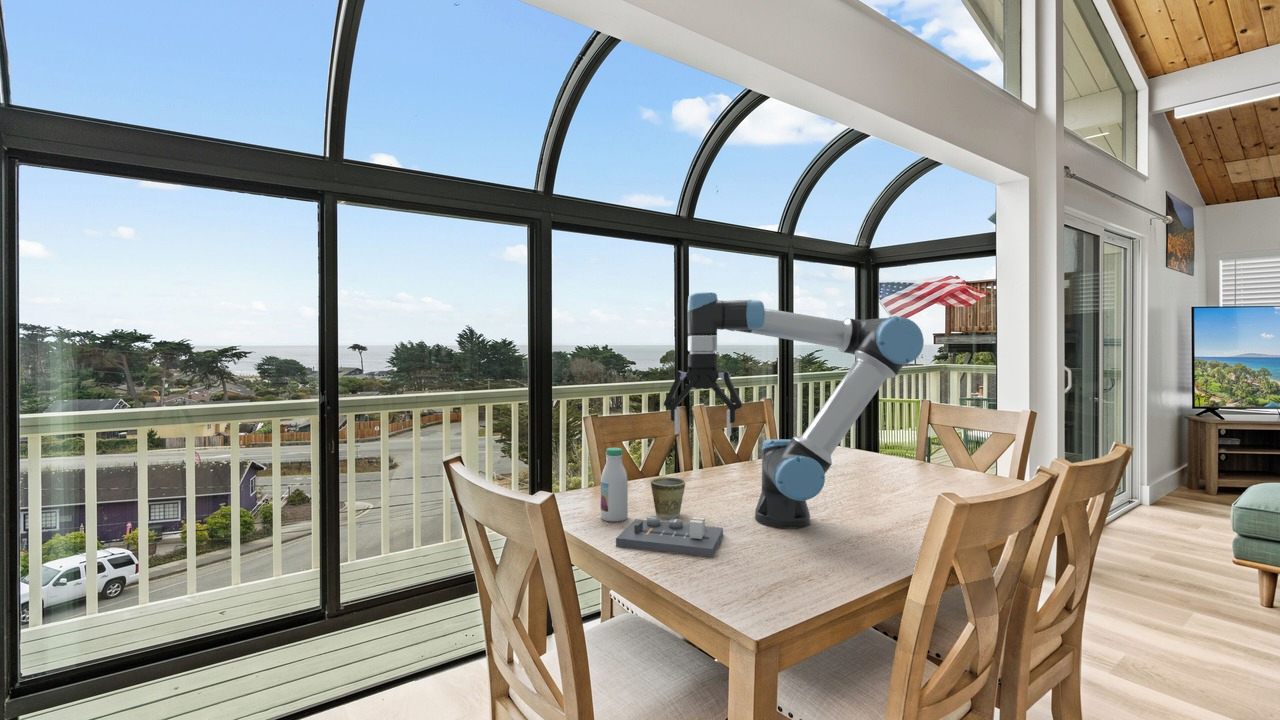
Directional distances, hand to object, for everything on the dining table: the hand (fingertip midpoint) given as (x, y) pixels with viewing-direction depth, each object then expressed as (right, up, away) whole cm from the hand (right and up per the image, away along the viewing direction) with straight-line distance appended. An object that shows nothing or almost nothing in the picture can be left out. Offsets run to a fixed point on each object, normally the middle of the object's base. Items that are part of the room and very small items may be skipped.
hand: (702, 434), depth 151 cm
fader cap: (-2, -24, -6) cm, 25 cm away
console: (-8, -27, -3) cm, 28 cm away
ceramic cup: (-8, -26, +20) cm, 33 cm away
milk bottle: (-24, -26, +15) cm, 38 cm away
